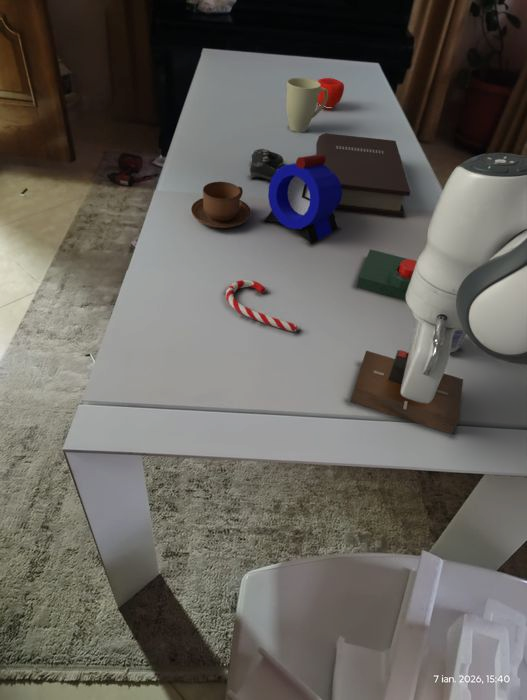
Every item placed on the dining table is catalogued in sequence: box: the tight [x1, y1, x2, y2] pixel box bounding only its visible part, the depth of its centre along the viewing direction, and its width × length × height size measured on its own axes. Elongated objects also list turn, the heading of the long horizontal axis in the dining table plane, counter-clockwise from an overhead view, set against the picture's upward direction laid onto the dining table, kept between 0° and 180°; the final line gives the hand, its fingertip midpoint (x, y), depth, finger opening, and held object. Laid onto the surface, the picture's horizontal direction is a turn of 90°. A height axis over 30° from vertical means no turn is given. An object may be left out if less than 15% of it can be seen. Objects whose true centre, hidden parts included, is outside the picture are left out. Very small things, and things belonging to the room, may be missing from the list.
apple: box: [316, 77, 345, 111], centre depth 156 cm, size 9×9×8 cm
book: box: [315, 132, 412, 218], centre depth 119 cm, size 28×20×6 cm
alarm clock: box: [264, 154, 342, 245], centre depth 100 cm, size 12×12×15 cm
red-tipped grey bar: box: [388, 349, 409, 384], centre depth 68 cm, size 6×1×5 cm, turn 70°
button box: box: [356, 249, 411, 301], centre depth 91 cm, size 12×10×4 cm
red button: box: [399, 258, 417, 279], centre depth 88 cm, size 4×4×2 cm
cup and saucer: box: [191, 181, 252, 229], centre depth 102 cm, size 12×12×6 cm
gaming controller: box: [249, 148, 284, 182], centre depth 120 cm, size 12×8×5 cm, turn 178°
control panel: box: [350, 350, 464, 435], centre depth 71 cm, size 14×10×3 cm
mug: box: [285, 77, 328, 133], centre depth 140 cm, size 11×10×12 cm
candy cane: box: [225, 279, 298, 333], centre depth 83 cm, size 8×1×15 cm
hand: (413, 374), depth 69 cm, fingers open, 3 cm apart
